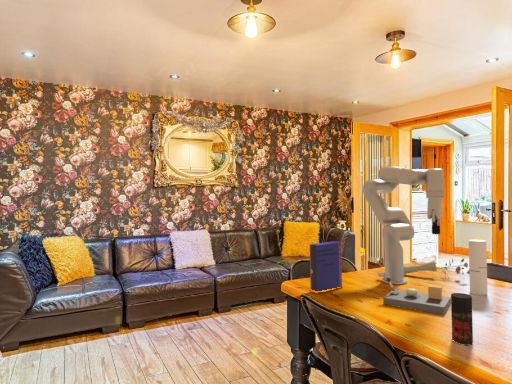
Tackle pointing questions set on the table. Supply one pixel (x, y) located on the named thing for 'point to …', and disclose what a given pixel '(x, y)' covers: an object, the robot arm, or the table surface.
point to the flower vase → (431, 267)
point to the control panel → (417, 301)
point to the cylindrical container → (478, 267)
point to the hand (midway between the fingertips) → (436, 233)
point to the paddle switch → (435, 292)
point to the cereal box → (325, 265)
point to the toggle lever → (390, 283)
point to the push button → (411, 291)
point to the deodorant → (461, 318)
